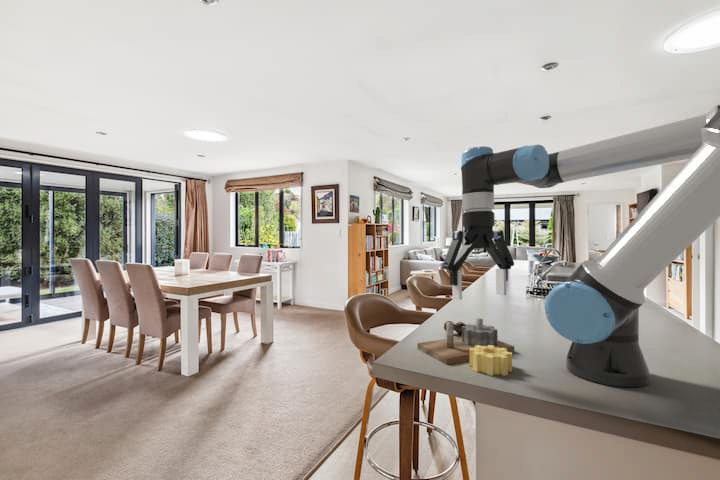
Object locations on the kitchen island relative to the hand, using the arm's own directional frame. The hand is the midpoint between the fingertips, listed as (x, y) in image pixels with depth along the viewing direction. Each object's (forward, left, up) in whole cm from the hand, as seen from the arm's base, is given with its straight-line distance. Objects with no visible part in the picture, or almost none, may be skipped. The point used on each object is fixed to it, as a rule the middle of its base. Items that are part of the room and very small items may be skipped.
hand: (479, 296), depth 86 cm
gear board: (+8, -2, -16) cm, 18 cm away
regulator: (+19, -12, -16) cm, 28 cm away
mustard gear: (-5, +1, -16) cm, 17 cm away
